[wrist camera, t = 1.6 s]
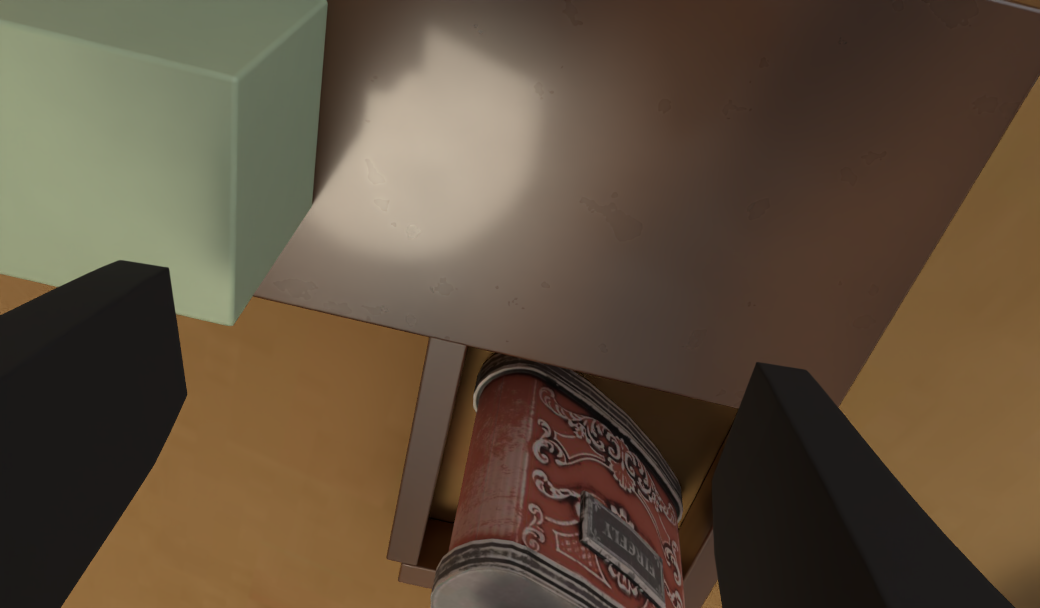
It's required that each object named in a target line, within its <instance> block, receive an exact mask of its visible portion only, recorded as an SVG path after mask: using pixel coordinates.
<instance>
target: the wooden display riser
mask: <svg viewBox="0 0 1040 608" xmlns="http://www.w3.org/2000/svg"><path fill="white" fill-rule="evenodd" d="M327 3H328V7H327V20H326V33H325V45H324V58H323V71H322V83H321V96H320V109H319V122H318V134H317V147H316V160H315V173H314V185H313V198H312V207H311V208H310V210H309V211H308V213H307V214H306V216H305V217H304V219H303V220H302V222H301V223H300V225H299V226H298V228H297V229H296V231H295V232H294V234H293V236H292V237H291V239H290V240H289V242H288V243H287V245H286V246H285V248H284V249H283V251H282V252H281V254H280V255H279V257H278V258H277V260H276V261H275V263H274V264H273V266H272V267H271V269H270V270H269V272H268V273H267V275H266V276H265V278H264V279H263V281H262V282H261V284H260V286H259V287H258V289H257V290H256V292H255V293H254V295H253V296H254V297H258V298H262V299H267V300H271V301H275V302H280V303H284V304H288V305H292V306H297V307H301V308H305V309H310V310H314V311H318V312H323V313H327V314H331V315H336V316H340V317H344V318H349V319H353V320H357V321H362V322H366V323H370V324H375V325H379V326H383V327H388V328H392V329H396V330H400V331H405V332H409V333H413V334H418V335H422V336H426V337H429V341H428V346H427V351H426V356H425V362H424V367H423V372H422V377H421V382H420V387H419V392H418V398H417V403H416V408H415V413H414V418H413V423H412V428H411V434H410V439H409V444H408V449H407V454H406V459H405V464H404V469H403V475H402V480H401V485H400V490H399V495H398V500H397V505H396V511H395V516H394V521H393V526H392V531H391V536H390V541H389V547H388V552H387V559H388V560H392V561H397V562H402V563H401V567H400V572H399V577H398V581H399V582H402V583H407V584H412V585H416V586H421V587H425V588H430V589H432V588H433V583H434V579H435V574H436V569H437V567H438V565H439V563H440V561H441V560H442V558H443V556H445V555H446V554H447V553H448V552H449V547H450V542H451V537H452V532H453V527H454V524H452V523H448V522H443V521H439V520H434V519H430V518H429V513H430V509H431V505H432V500H433V496H434V492H435V487H436V483H437V479H438V475H439V470H440V466H441V462H442V457H443V453H444V449H445V444H446V440H447V436H448V431H449V427H450V423H451V419H452V414H453V410H454V406H455V401H456V397H457V393H458V388H459V384H460V380H461V375H462V371H463V367H464V363H465V358H466V354H467V350H468V346H470V347H474V348H478V349H483V350H487V351H491V352H496V353H500V354H504V355H509V356H513V357H517V358H521V359H526V360H530V361H534V362H539V363H543V364H547V365H552V366H556V367H560V368H565V369H569V370H573V371H578V372H582V373H586V374H591V375H595V376H599V377H604V378H608V379H612V380H617V381H621V382H625V383H629V384H634V385H638V386H642V387H647V388H651V389H655V390H660V391H664V392H668V393H673V394H677V395H681V396H686V397H690V398H694V399H699V400H703V401H707V402H712V403H716V404H720V405H725V406H729V407H733V408H737V409H739V407H740V404H741V401H742V399H743V396H744V393H745V391H746V388H747V386H748V383H749V380H750V378H751V375H752V372H753V370H754V367H755V365H756V362H761V363H767V364H774V365H780V366H786V367H792V368H799V369H805V370H807V371H808V372H809V373H810V374H811V375H812V376H813V378H814V379H815V380H816V381H817V382H818V383H819V385H820V386H821V387H822V388H823V389H824V391H825V392H826V393H827V394H828V395H829V397H830V398H831V399H832V400H833V402H834V403H835V404H836V405H837V407H839V406H840V404H841V402H842V401H843V399H844V397H845V396H846V394H847V392H848V391H849V389H850V387H851V386H852V384H853V382H854V381H855V379H856V378H857V376H858V374H859V373H860V371H861V369H862V368H863V366H864V364H865V363H866V361H867V359H868V358H869V356H870V354H871V353H872V351H873V349H874V348H875V346H876V344H877V343H878V341H879V340H880V338H881V336H882V335H883V333H884V331H885V330H886V328H887V326H888V325H889V323H890V321H891V320H892V318H893V316H894V315H895V313H896V311H897V310H898V308H899V307H900V305H901V303H902V302H903V300H904V298H905V297H906V295H907V293H908V292H909V290H910V288H911V287H912V285H913V283H914V282H915V280H916V278H917V277H918V275H919V273H920V272H921V270H922V269H923V267H924V265H925V264H926V262H927V260H928V259H929V257H930V255H931V254H932V252H933V250H934V249H935V247H936V245H937V244H938V242H939V240H940V239H941V237H942V236H943V234H944V232H945V231H946V229H947V227H948V226H949V224H950V222H951V221H952V219H953V217H954V216H955V214H956V212H957V211H958V209H959V207H960V206H961V204H962V202H963V201H964V199H965V198H966V196H967V194H968V193H969V191H970V189H971V188H972V186H973V184H974V183H975V181H976V179H977V178H978V176H979V174H980V173H981V171H982V169H983V168H984V166H985V164H986V163H987V161H988V160H989V158H990V156H991V155H992V153H993V151H994V150H995V148H996V146H997V145H998V143H999V141H1000V140H1001V138H1002V136H1003V135H1004V133H1005V131H1006V130H1007V128H1008V127H1009V125H1010V123H1011V122H1012V120H1013V118H1014V117H1015V115H1016V113H1017V112H1018V110H1019V108H1020V107H1021V105H1022V103H1023V102H1024V100H1025V98H1026V97H1027V95H1028V93H1029V92H1030V90H1031V89H1032V87H1033V85H1034V84H1035V82H1036V80H1037V79H1038V77H1039V75H1040V0H327ZM729 433H730V432H729ZM728 435H729V434H728ZM728 435H727V437H726V439H725V441H724V443H723V445H722V447H721V449H720V451H719V453H718V455H717V457H716V459H715V461H714V463H713V465H712V467H711V469H710V471H709V473H708V475H707V477H706V478H705V480H704V482H703V484H702V486H701V488H700V490H699V492H698V494H697V496H696V498H695V500H694V502H693V504H692V506H691V508H690V510H689V512H688V514H687V516H686V518H685V520H684V521H683V523H682V525H681V527H680V529H679V531H678V532H679V544H680V555H681V566H682V577H683V588H684V600H685V608H701V607H702V605H703V604H704V602H705V600H706V599H707V597H708V595H709V593H710V592H711V590H712V588H713V587H714V585H715V583H716V582H717V580H718V576H717V569H716V563H715V556H714V537H713V508H712V478H713V475H714V472H715V470H716V467H717V464H718V462H719V459H720V457H721V454H722V451H723V449H724V446H725V443H726V441H727V438H728Z"/></svg>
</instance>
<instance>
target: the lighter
mask: <svg viewBox="0 0 1040 608" xmlns="http://www.w3.org/2000/svg"><path fill="white" fill-rule="evenodd" d="M473 407H474V409H475V411H476V418H475V423H474V428H473V433H472V438H471V443H470V448H469V453H468V458H467V463H466V468H465V473H464V478H463V483H462V488H461V493H460V498H459V502H458V507H457V512H456V517H455V522H454V527H453V532H452V537H451V542H450V547H449V552H448V553H447V554H446V555H445V556H443V558H442V560H441V561H440V563H439V565H438V567H437V569H436V574H435V579H434V583H433V588H432V593H431V608H685V600H684V588H683V577H682V566H681V555H680V544H679V532H678V522H679V521H680V520H681V517H682V512H683V505H682V495H681V487H680V484H679V481H678V479H677V478H676V476H675V475H674V473H673V472H672V470H671V469H670V467H669V466H668V464H667V463H666V461H665V459H664V458H663V456H662V455H661V453H660V452H659V450H658V449H657V447H656V446H655V445H654V444H653V443H652V442H651V441H650V439H649V438H648V437H647V436H646V435H645V434H644V433H643V432H642V430H641V429H640V428H639V427H638V426H637V425H636V424H635V422H634V421H633V420H632V419H631V418H630V417H629V416H628V414H626V413H625V412H624V411H623V410H622V409H621V408H619V407H618V406H617V405H616V404H615V403H614V402H612V401H611V400H610V399H609V398H608V397H606V396H605V395H604V394H603V393H602V392H601V391H599V390H598V389H597V388H596V387H595V386H594V385H592V384H591V383H590V382H589V381H587V380H586V379H584V378H583V377H581V376H580V375H578V374H577V373H575V372H574V371H572V370H569V369H565V368H560V367H556V366H552V365H547V364H543V363H539V362H534V361H530V360H526V359H521V358H517V357H513V356H509V355H504V354H500V353H498V354H496V355H494V356H492V357H491V358H490V359H489V360H488V361H487V362H486V363H484V364H483V366H482V368H481V370H480V372H479V374H478V376H477V381H476V386H475V390H474V395H473Z"/></svg>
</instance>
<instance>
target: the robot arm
mask: <svg viewBox="0 0 1040 608" xmlns="http://www.w3.org/2000/svg"><path fill="white" fill-rule="evenodd" d="M186 397H187V389H186V382H185V375H184V368H183V361H182V354H181V347H180V340H179V333H178V326H177V319H176V312H175V306H174V299H173V292H172V285H171V278H170V271H169V267H162V266H156V265H150V264H144V263H137V262H131V261H125V260H118V261H115V262H113V263H110V264H108V265H105V266H103V267H101V268H98V269H96V270H94V271H92V272H89V273H87V274H85V275H83V276H81V277H79V278H76V279H74V280H72V281H70V282H68V283H66V284H64V285H62V286H60V287H58V288H56V289H54V290H51V291H49V292H47V293H45V294H43V295H41V296H39V297H37V298H35V299H33V300H31V301H29V302H27V303H25V304H23V305H21V306H19V307H17V308H15V309H13V310H10V311H8V312H6V313H4V314H2V315H0V608H61V606H62V605H63V603H64V602H65V600H66V599H67V597H68V596H69V594H70V593H71V591H72V590H73V588H74V587H75V585H76V584H77V582H78V581H79V579H80V578H81V576H82V575H83V573H84V571H85V570H86V568H87V567H88V565H89V564H90V562H91V561H92V559H93V558H94V556H95V555H96V553H97V552H98V550H99V549H100V547H101V546H102V544H103V543H104V541H105V540H106V538H107V537H108V535H109V534H110V532H111V531H112V529H113V528H114V526H115V525H116V523H117V522H118V520H119V519H120V517H121V516H122V514H123V512H124V511H125V509H126V508H127V506H128V505H129V503H130V502H131V500H132V499H133V497H134V495H135V494H136V492H137V491H138V489H139V488H140V486H141V485H142V483H143V482H144V480H145V478H146V477H147V475H148V474H149V472H150V470H151V469H152V467H153V466H154V464H155V462H156V460H157V458H158V456H159V454H160V452H161V450H162V448H163V446H164V444H165V442H166V440H167V438H168V436H169V434H170V432H171V430H172V427H173V425H174V423H175V421H176V419H177V416H178V414H179V412H180V410H181V408H182V405H183V403H184V401H185V399H186ZM712 508H713V537H714V556H715V563H716V569H717V576H718V582H719V589H720V595H721V601H722V608H1015V607H1014V606H1013V605H1012V604H1011V603H1010V602H1009V601H1008V600H1007V599H1006V598H1005V597H1004V596H1003V595H1002V594H1001V593H1000V592H999V591H998V590H997V589H996V588H995V587H994V586H993V585H992V584H991V583H990V582H989V581H988V580H987V579H986V578H985V577H984V575H983V574H982V573H981V572H980V571H979V570H978V569H977V568H976V567H975V566H974V565H973V564H972V563H971V562H970V561H969V560H968V558H967V557H966V556H965V555H964V554H963V553H962V552H961V551H960V550H959V549H958V548H957V547H956V546H955V545H954V544H953V543H952V541H951V540H950V539H949V538H948V537H947V536H946V535H945V534H944V533H943V532H942V530H941V529H940V528H939V527H938V526H937V525H936V524H935V523H934V521H933V520H932V519H931V518H930V517H929V516H928V515H927V514H926V513H925V511H924V510H923V509H922V508H921V507H920V506H919V504H918V503H917V502H916V501H915V500H914V499H913V498H912V496H911V495H910V494H909V493H908V492H907V491H906V489H905V488H904V487H903V486H902V485H901V483H900V482H899V481H898V480H897V479H896V478H895V476H894V475H893V474H892V473H891V472H890V470H889V469H888V468H887V467H886V466H885V464H884V463H883V462H882V461H881V460H880V458H879V457H878V456H877V455H876V454H875V452H874V451H873V450H872V449H871V447H870V446H869V445H868V444H867V442H866V441H865V440H864V439H863V438H862V436H861V435H860V434H859V433H858V431H857V430H856V429H855V428H854V426H853V425H852V424H851V423H850V421H849V420H848V419H847V418H846V416H845V415H844V414H843V413H842V412H841V410H840V409H839V408H838V407H837V405H836V404H835V403H834V402H833V400H832V399H831V398H830V397H829V395H828V394H827V393H826V392H825V391H824V389H823V388H822V387H821V386H820V385H819V383H818V382H817V381H816V380H815V379H814V378H813V376H812V375H811V374H810V373H809V372H808V371H807V370H805V369H799V368H792V367H786V366H780V365H774V364H767V363H761V362H756V365H755V367H754V370H753V372H752V375H751V378H750V380H749V383H748V386H747V388H746V391H745V393H744V396H743V399H742V401H741V404H740V407H739V409H738V412H737V414H736V417H735V420H734V422H733V425H732V428H731V430H730V433H729V435H728V438H727V441H726V443H725V446H724V449H723V451H722V454H721V457H720V459H719V462H718V464H717V467H716V470H715V472H714V475H713V478H712Z"/></svg>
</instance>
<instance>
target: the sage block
mask: <svg viewBox="0 0 1040 608" xmlns="http://www.w3.org/2000/svg"><path fill="white" fill-rule="evenodd" d="M327 7H328V3H327V0H0V274H4V275H8V276H12V277H17V278H21V279H25V280H30V281H34V282H38V283H43V284H47V285H51V286H56V287H60V286H62V285H64V284H66V283H68V282H70V281H72V280H74V279H76V278H79V277H81V276H83V275H85V274H87V273H89V272H92V271H94V270H96V269H98V268H101V267H103V266H105V265H108V264H110V263H113V262H115V261H118V260H125V261H131V262H137V263H144V264H150V265H156V266H162V267H169V271H170V278H171V285H172V292H173V299H174V306H175V312H176V314H178V315H182V316H187V317H191V318H195V319H200V320H204V321H208V322H213V323H217V324H221V325H226V326H232V325H234V323H235V322H236V320H237V319H238V317H239V316H240V314H241V313H242V311H243V310H244V308H245V307H246V305H247V304H248V302H249V301H250V299H251V298H252V296H253V295H254V293H255V292H256V290H257V289H258V287H259V286H260V284H261V282H262V281H263V279H264V278H265V276H266V275H267V273H268V272H269V270H270V269H271V267H272V266H273V264H274V263H275V261H276V260H277V258H278V257H279V255H280V254H281V252H282V251H283V249H284V248H285V246H286V245H287V243H288V242H289V240H290V239H291V237H292V236H293V234H294V232H295V231H296V229H297V228H298V226H299V225H300V223H301V222H302V220H303V219H304V217H305V216H306V214H307V213H308V211H309V210H310V208H311V207H312V198H313V185H314V173H315V160H316V147H317V134H318V122H319V109H320V96H321V83H322V71H323V58H324V45H325V33H326V20H327Z"/></svg>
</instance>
